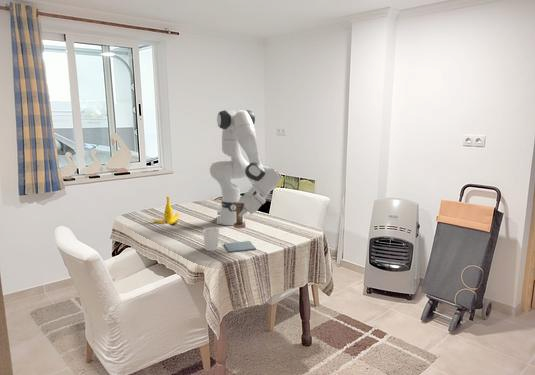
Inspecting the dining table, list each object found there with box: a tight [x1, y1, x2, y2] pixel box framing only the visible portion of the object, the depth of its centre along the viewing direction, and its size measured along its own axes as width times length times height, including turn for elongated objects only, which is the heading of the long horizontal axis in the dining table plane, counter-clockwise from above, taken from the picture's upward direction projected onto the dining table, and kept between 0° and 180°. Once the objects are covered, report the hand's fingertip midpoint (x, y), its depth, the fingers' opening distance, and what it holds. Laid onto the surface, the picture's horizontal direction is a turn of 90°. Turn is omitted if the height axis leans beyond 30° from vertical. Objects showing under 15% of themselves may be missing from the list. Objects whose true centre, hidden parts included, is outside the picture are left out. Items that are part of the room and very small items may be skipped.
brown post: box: [233, 203, 246, 229], centre depth 199 cm, size 6×6×12 cm
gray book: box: [223, 240, 257, 253], centre depth 202 cm, size 12×14×1 cm
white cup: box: [202, 227, 220, 252], centre depth 199 cm, size 8×8×10 cm
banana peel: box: [151, 195, 179, 225], centre depth 249 cm, size 16×19×17 cm
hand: (238, 214), depth 199 cm, fingers closed on brown post, 3 cm apart
